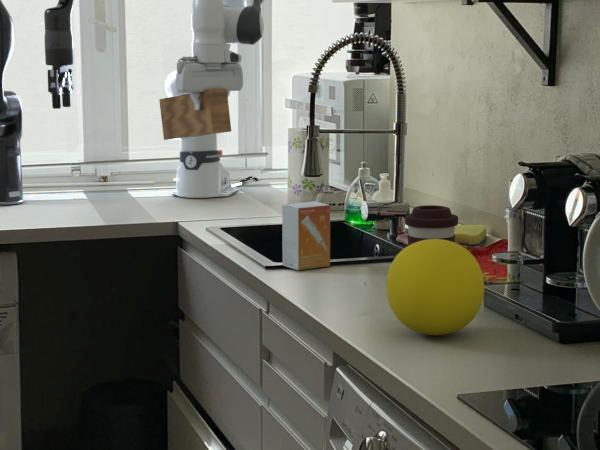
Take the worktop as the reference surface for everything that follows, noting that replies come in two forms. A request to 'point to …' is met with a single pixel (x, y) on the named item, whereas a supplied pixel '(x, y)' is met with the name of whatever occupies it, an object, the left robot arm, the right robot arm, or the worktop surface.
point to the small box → (306, 235)
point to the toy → (435, 287)
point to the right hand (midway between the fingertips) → (210, 109)
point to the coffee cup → (431, 223)
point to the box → (195, 115)
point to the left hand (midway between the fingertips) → (62, 107)
